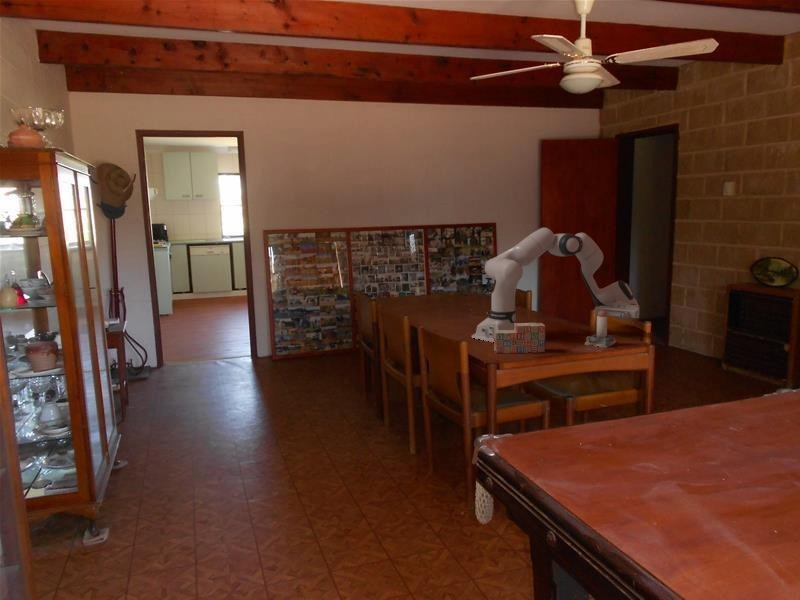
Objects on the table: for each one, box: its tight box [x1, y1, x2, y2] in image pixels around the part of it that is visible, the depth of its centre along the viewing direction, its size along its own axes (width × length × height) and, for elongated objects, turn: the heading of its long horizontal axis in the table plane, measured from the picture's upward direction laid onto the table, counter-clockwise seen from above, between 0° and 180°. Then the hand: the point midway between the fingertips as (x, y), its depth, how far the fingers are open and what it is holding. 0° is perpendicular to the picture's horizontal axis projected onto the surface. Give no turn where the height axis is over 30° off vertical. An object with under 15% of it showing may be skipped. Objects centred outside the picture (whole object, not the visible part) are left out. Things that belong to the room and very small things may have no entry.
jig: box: [584, 333, 617, 349], centre depth 272 cm, size 10×12×4 cm
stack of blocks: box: [493, 322, 546, 354], centre depth 261 cm, size 21×6×12 cm, turn 89°
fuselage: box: [596, 311, 608, 339], centre depth 269 cm, size 4×4×14 cm
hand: (611, 314), depth 278 cm, fingers open, 8 cm apart
